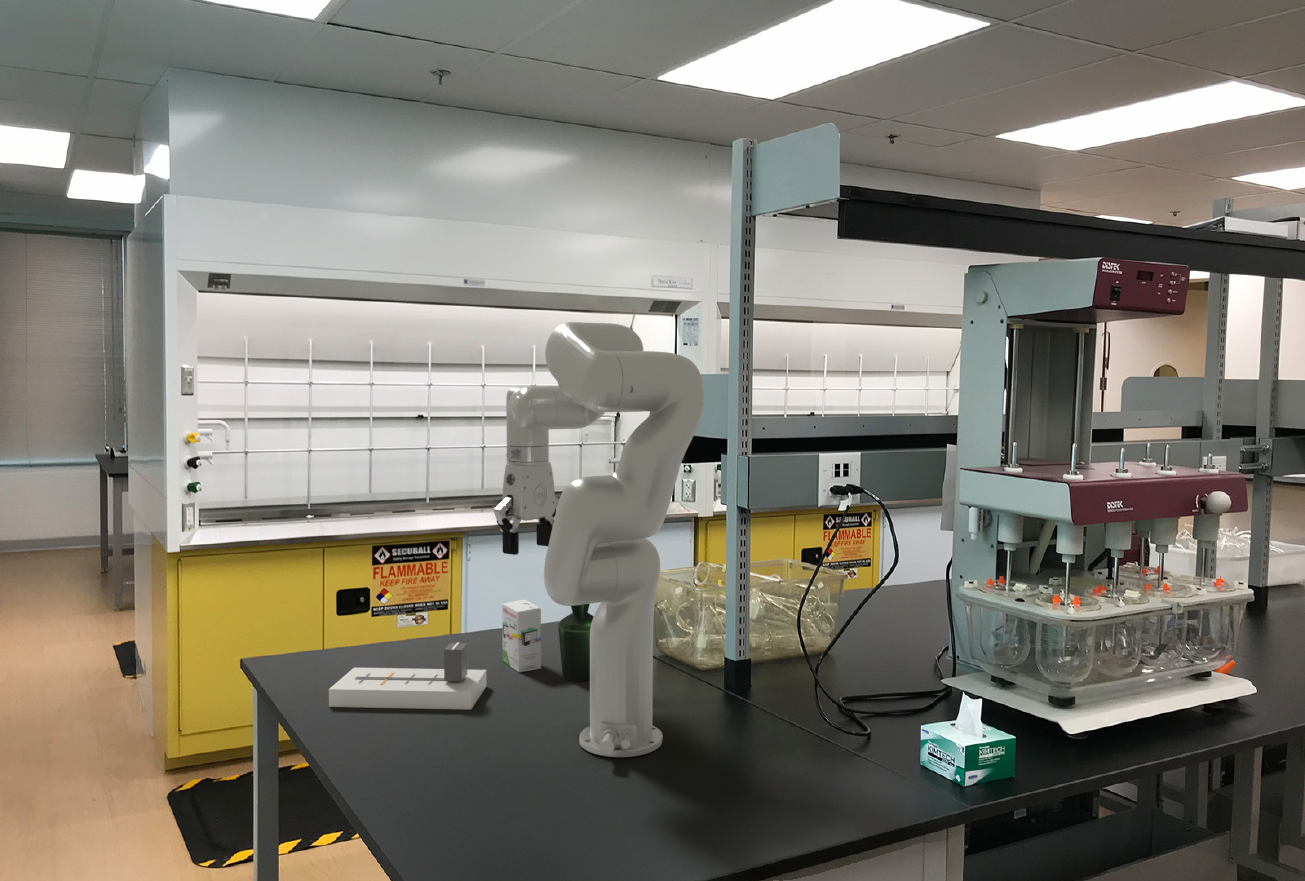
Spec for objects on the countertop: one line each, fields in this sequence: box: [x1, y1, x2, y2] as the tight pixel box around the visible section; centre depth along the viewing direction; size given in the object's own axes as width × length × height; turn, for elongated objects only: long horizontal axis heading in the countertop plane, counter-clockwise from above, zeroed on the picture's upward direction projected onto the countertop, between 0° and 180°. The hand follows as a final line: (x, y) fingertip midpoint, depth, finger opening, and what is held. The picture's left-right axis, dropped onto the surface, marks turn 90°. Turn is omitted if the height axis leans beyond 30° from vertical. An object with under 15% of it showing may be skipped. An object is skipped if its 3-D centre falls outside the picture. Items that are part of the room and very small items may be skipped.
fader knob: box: [443, 641, 468, 682], centre depth 164 cm, size 4×3×6 cm
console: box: [328, 667, 487, 710], centre depth 165 cm, size 12×24×3 cm, turn 88°
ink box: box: [501, 599, 542, 673], centre depth 183 cm, size 8×5×12 cm, turn 30°
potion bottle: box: [557, 604, 594, 682], centre depth 176 cm, size 8×8×18 cm
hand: (527, 549), depth 172 cm, fingers open, 9 cm apart
